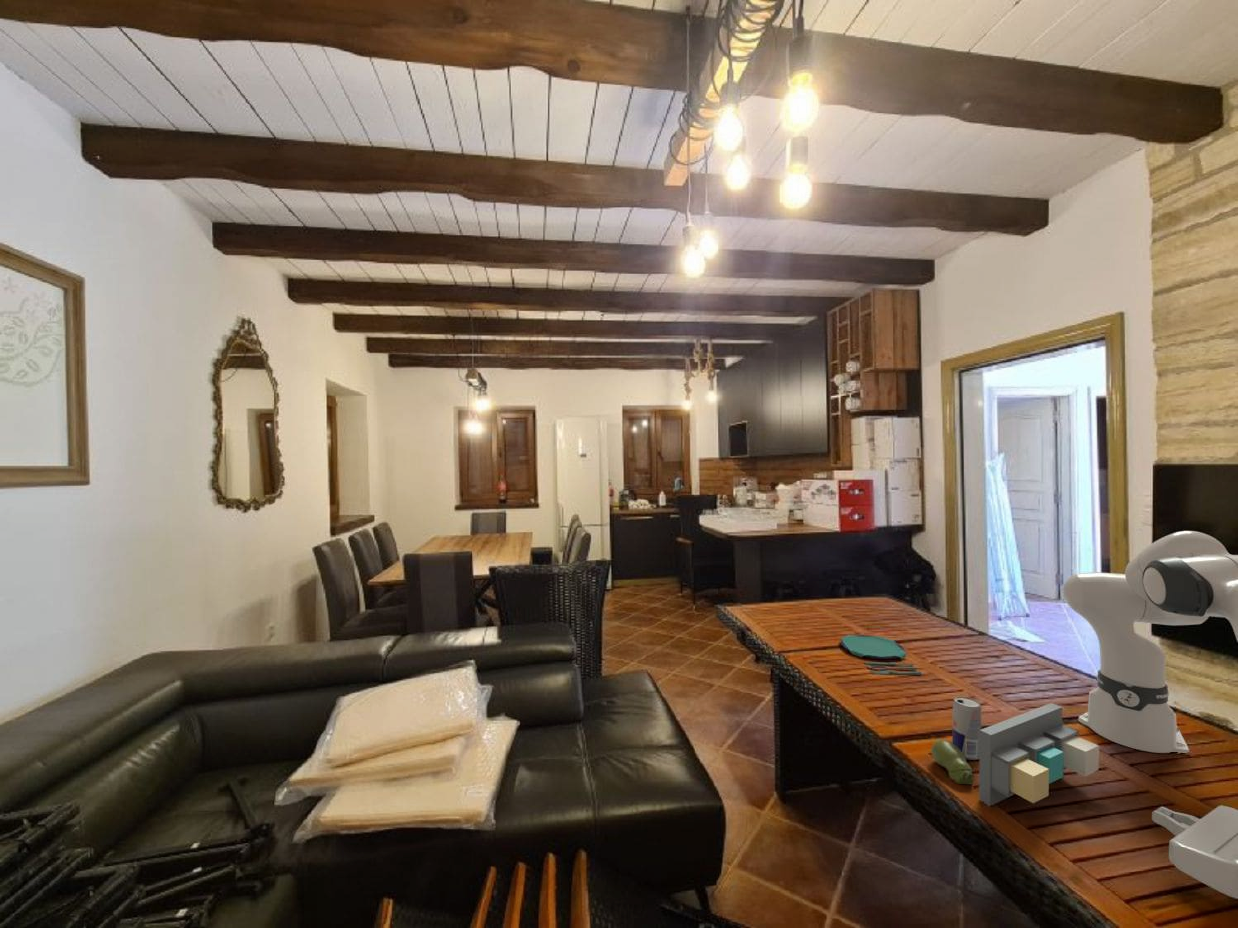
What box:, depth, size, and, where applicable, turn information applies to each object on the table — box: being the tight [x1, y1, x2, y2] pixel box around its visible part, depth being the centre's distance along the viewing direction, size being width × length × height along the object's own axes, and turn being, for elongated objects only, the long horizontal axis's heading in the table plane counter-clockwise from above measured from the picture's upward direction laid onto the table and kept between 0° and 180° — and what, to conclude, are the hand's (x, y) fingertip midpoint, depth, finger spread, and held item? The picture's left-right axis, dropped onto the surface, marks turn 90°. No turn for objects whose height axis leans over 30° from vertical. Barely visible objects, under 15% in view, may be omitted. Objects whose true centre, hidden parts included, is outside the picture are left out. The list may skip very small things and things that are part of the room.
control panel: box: [978, 702, 1080, 807], centre depth 104 cm, size 25×5×14 cm, turn 115°
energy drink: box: [951, 696, 982, 761], centre depth 117 cm, size 5×5×12 cm
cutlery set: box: [840, 634, 922, 676], centre depth 173 cm, size 20×30×2 cm, turn 172°
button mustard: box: [1010, 758, 1050, 804], centre depth 97 cm, size 5×4×5 cm
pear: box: [931, 739, 975, 785], centre depth 110 cm, size 6×5×10 cm
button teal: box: [1037, 746, 1064, 785], centre depth 102 cm, size 5×4×5 cm
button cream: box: [1062, 736, 1100, 777], centre depth 104 cm, size 5×4×5 cm
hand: (1155, 812), depth 87 cm, fingers closed
